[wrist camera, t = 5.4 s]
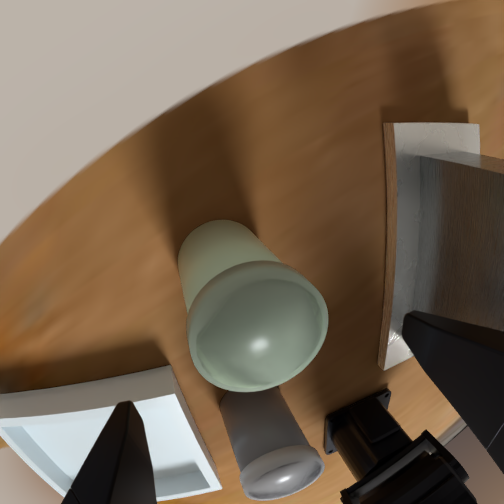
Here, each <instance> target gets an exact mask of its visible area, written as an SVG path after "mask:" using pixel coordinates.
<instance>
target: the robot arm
mask: <svg viewBox="0 0 504 504" xmlns="http://www.w3.org/2000/svg"><path fill="white" fill-rule="evenodd" d="M402 338H403V340H404V342H405V343H406V345H407V346H408V347H409V349H410V350H411V352H412V353H413V355H414V356H415V358H416V359H417V361H418V363H419V364H420V366H421V367H422V368H423V370H424V371H425V372H426V374H427V375H428V376H429V377H430V379H431V380H432V381H433V382H434V384H435V385H436V386H437V387H438V389H439V390H440V391H441V392H442V393H443V395H444V396H445V397H446V398H447V400H448V401H449V402H450V403H451V405H452V406H453V407H454V409H455V410H456V411H457V412H458V414H459V415H460V416H461V417H462V419H463V420H464V421H465V423H466V424H467V425H468V426H469V427H470V429H471V430H472V432H473V433H474V434H475V435H476V437H477V438H478V440H479V441H480V442H481V444H482V445H483V446H484V448H485V449H487V452H488V453H489V455H490V456H491V457H492V459H493V460H494V461H495V463H496V464H497V466H498V467H499V468H500V470H501V471H502V472H503V474H504V331H501V330H496V329H492V328H488V327H483V326H479V325H475V324H471V323H467V322H462V321H458V320H454V319H450V318H446V317H442V316H438V315H433V314H429V313H425V312H421V311H417V310H413V311H411V312H408V313H406V314H405V315H404V318H403V325H402ZM390 396H391V391H390V390H389V389H385V390H383V391H381V392H379V393H377V394H374V395H372V396H370V397H368V398H366V399H364V400H362V401H360V402H357V403H355V404H353V405H351V406H349V407H346V408H344V409H342V410H339V411H337V412H335V413H332V414H330V415H329V416H327V418H326V424H325V447H324V451H325V453H326V454H327V455H329V454H332V453H334V452H336V451H338V452H339V454H340V455H341V457H342V459H343V460H344V462H345V463H346V465H347V467H348V468H349V470H350V471H351V473H352V474H353V476H354V477H355V479H356V481H357V482H356V483H355V484H353V485H352V486H350V487H349V488H347V489H346V488H345V489H344V490H342V491H340V493H341V495H342V497H341V498H340V500H341V501H342V503H343V504H477V501H476V498H475V497H474V496H473V494H472V493H471V492H470V490H469V489H468V488H467V487H466V486H465V484H464V483H465V482H466V481H467V480H468V479H469V476H468V474H467V472H466V471H465V470H464V468H463V467H462V466H461V464H460V463H459V462H458V461H457V460H456V459H455V458H454V456H453V455H452V454H451V453H450V452H449V451H448V450H447V449H446V448H444V447H443V446H442V445H441V444H440V443H439V442H438V441H437V440H436V439H435V438H434V437H433V436H432V435H431V434H430V433H429V432H428V431H427V430H425V431H423V432H422V433H421V435H420V436H419V437H418V438H417V439H415V440H414V441H412V440H411V439H410V437H409V436H408V435H407V434H406V433H405V431H404V430H403V429H402V428H401V426H400V425H399V423H398V422H397V421H396V420H395V419H394V418H393V416H392V415H391V414H390V413H389V412H388V410H387V409H388V405H389V401H390ZM429 452H431V453H432V454H431V455H430V454H429ZM61 504H157V500H156V492H155V483H154V474H153V466H152V461H151V457H150V452H149V447H148V443H147V438H146V433H145V427H144V423H143V420H142V417H141V415H140V414H139V412H138V410H137V409H136V407H135V405H134V403H133V402H132V401H130V400H128V401H122V402H119V403H117V405H116V407H115V408H114V410H113V412H112V413H111V415H110V417H109V419H108V420H107V422H106V424H105V426H104V427H103V429H102V431H101V433H100V434H99V436H98V438H97V440H96V441H95V443H94V445H93V447H92V448H91V450H90V452H89V454H88V456H87V457H86V459H85V461H84V463H83V465H82V466H81V468H80V470H79V472H78V474H77V475H76V477H75V479H74V481H73V483H72V485H71V489H69V490H68V492H67V494H66V496H65V497H64V499H63V501H62V503H61Z"/></svg>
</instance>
